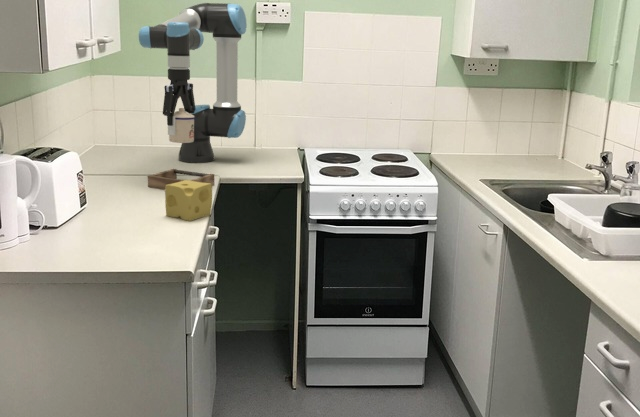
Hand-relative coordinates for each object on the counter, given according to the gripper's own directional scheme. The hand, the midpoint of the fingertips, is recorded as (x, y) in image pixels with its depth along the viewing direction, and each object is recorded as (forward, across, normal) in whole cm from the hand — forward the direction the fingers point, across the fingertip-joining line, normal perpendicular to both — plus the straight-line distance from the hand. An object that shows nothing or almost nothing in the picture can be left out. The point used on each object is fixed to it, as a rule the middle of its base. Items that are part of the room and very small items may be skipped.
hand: (179, 133), depth 247 cm
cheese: (+20, +30, +24) cm, 44 cm away
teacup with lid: (+3, -1, 0) cm, 3 cm away
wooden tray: (+19, 0, 0) cm, 19 cm away
